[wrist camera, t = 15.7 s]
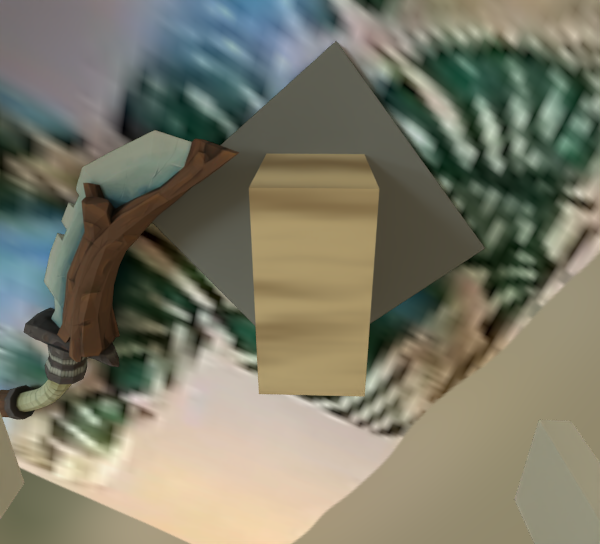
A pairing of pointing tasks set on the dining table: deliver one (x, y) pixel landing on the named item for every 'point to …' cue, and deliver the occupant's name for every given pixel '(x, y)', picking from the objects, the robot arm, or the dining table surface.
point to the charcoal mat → (324, 140)
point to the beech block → (313, 271)
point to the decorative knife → (104, 254)
